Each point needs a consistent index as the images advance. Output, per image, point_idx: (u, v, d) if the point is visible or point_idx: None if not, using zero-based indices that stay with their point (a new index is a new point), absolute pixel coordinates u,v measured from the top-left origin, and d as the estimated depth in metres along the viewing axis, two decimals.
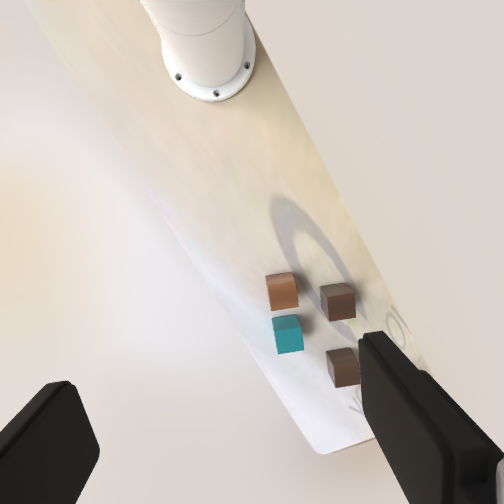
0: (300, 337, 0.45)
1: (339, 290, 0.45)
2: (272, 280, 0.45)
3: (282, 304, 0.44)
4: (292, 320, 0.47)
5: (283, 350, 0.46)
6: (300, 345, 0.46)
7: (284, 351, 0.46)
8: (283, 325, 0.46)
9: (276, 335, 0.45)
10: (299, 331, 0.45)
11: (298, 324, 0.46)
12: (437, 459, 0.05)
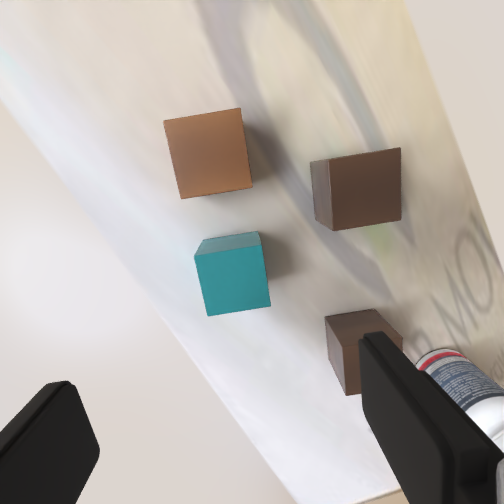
0: (260, 273, 0.18)
1: None
2: None
3: (208, 179, 0.16)
4: (244, 239, 0.20)
5: (220, 306, 0.19)
6: (261, 294, 0.19)
7: (222, 309, 0.19)
8: (220, 246, 0.19)
9: (199, 267, 0.18)
10: (256, 258, 0.18)
11: (256, 242, 0.18)
12: (437, 459, 0.05)
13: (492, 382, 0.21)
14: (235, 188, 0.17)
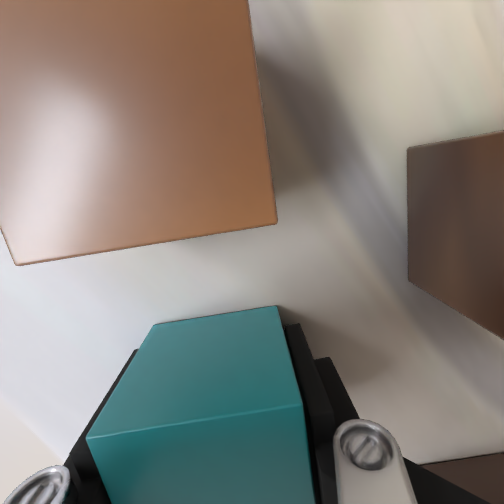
0: (296, 478, 0.06)
1: None
2: None
3: (112, 195, 0.04)
4: (247, 343, 0.08)
5: None
6: None
7: None
8: (178, 381, 0.07)
9: (107, 467, 0.06)
10: (284, 440, 0.06)
11: (282, 375, 0.06)
12: None
13: None
14: (214, 228, 0.04)
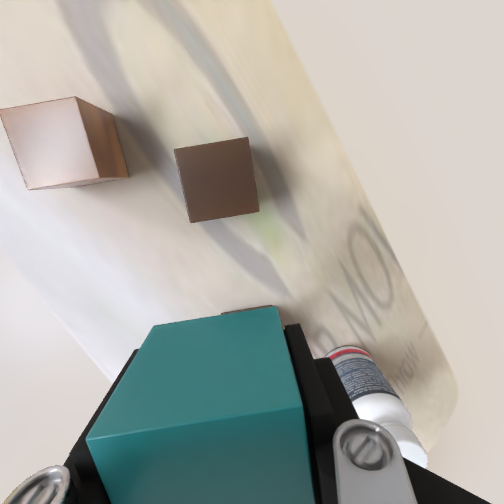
0: (296, 479, 0.06)
1: None
2: None
3: (53, 170, 0.16)
4: (247, 344, 0.08)
5: None
6: None
7: None
8: (178, 382, 0.07)
9: (107, 468, 0.06)
10: (284, 441, 0.06)
11: (282, 377, 0.06)
12: None
13: (379, 379, 0.21)
14: (82, 179, 0.16)
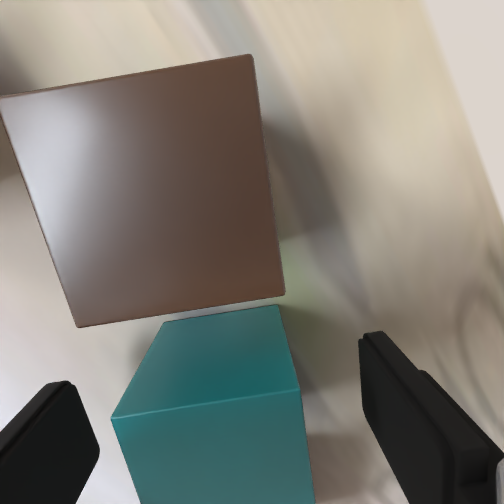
0: (295, 456, 0.07)
1: None
2: None
3: None
4: (251, 338, 0.09)
5: None
6: (295, 501, 0.07)
7: None
8: (189, 371, 0.07)
9: (128, 445, 0.07)
10: (284, 421, 0.06)
11: (282, 366, 0.07)
12: (437, 459, 0.05)
13: None
14: None
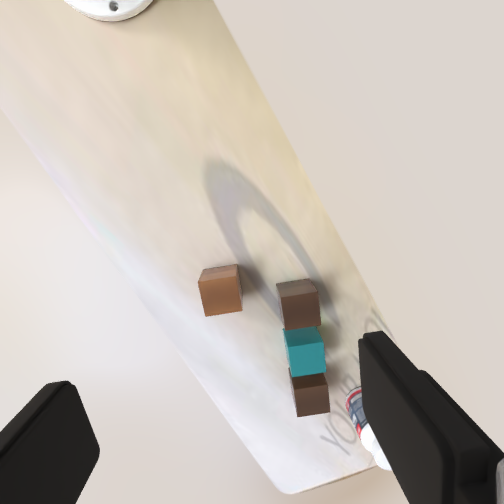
0: (322, 355, 0.34)
1: (299, 289, 0.33)
2: (208, 275, 0.33)
3: (219, 307, 0.32)
4: (310, 332, 0.36)
5: (299, 372, 0.35)
6: (321, 366, 0.35)
7: (300, 373, 0.35)
8: (299, 339, 0.35)
9: (290, 353, 0.34)
10: (320, 348, 0.34)
11: (319, 338, 0.35)
12: (437, 459, 0.05)
13: None
14: (233, 311, 0.32)
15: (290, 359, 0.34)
